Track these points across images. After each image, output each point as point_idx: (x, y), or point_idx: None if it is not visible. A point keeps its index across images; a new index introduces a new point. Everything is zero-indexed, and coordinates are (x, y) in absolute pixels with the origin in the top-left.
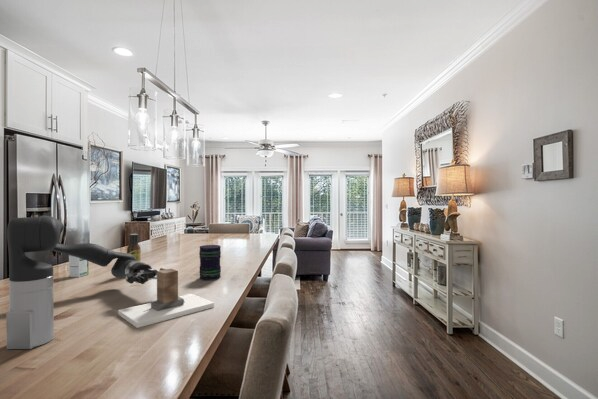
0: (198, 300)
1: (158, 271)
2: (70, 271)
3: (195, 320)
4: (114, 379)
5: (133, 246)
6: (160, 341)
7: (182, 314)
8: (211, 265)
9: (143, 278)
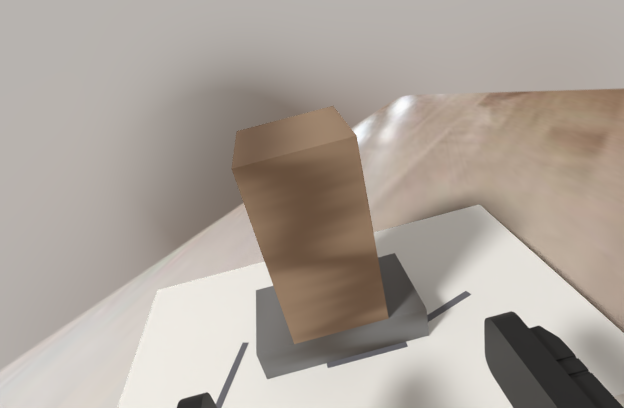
0: (174, 344)
1: (349, 127)
2: None
3: None
4: (482, 104)
5: None
6: (408, 161)
7: None
8: None
9: (499, 314)
